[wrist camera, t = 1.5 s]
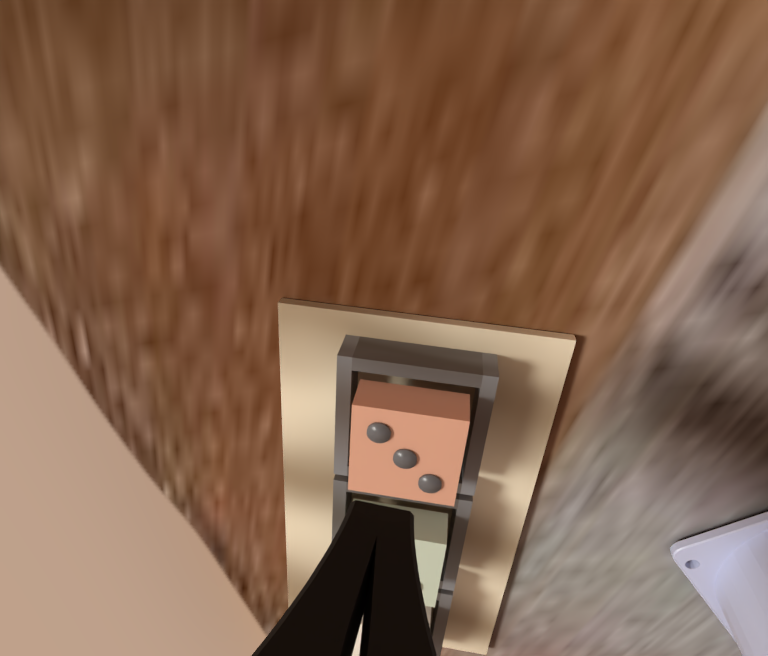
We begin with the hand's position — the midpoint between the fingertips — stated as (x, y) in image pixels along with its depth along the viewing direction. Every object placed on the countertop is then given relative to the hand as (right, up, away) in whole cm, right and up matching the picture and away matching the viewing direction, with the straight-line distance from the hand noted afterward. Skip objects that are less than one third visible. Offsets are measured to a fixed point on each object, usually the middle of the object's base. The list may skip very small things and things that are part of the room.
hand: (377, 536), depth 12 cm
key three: (+1, +1, +6) cm, 6 cm away
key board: (+1, -3, +10) cm, 11 cm away
